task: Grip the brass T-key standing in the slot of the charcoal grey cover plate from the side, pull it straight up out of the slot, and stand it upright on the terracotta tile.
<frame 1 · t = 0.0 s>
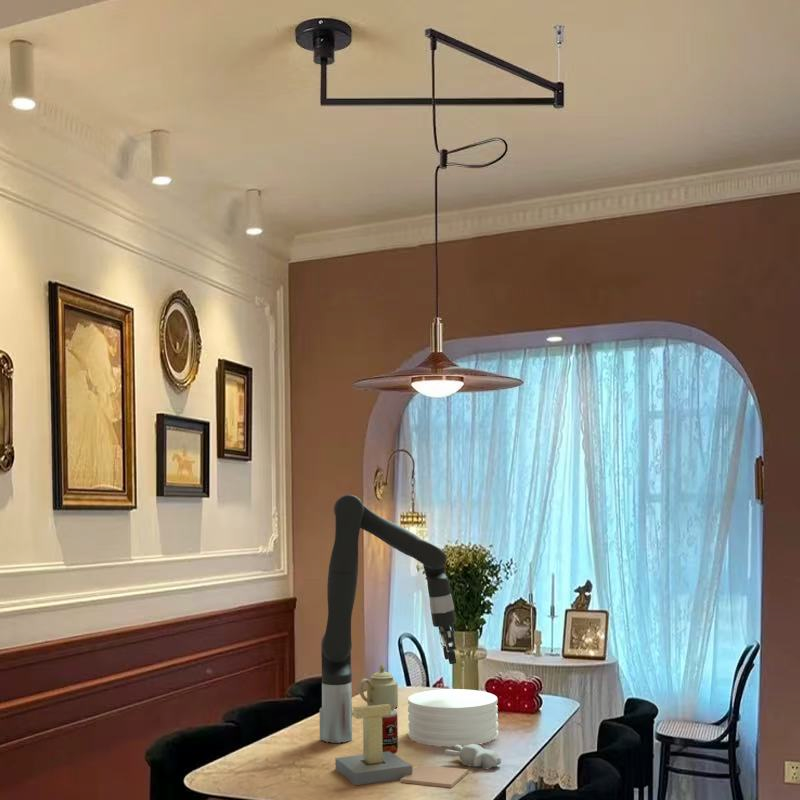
hand: (450, 661, 292), 22 cm above the table, tool pointing down, fingers open, 8 cm apart
tile: (435, 777, 244), on the table
t key: (372, 739, 250), in the cover plate
cover plate: (373, 773, 249), on the table
canned food: (384, 751, 271), on the table
plate stack: (453, 736, 288), on the table
bunny figurine: (473, 765, 256), on the table
sugar bowl: (380, 708, 328), on the table
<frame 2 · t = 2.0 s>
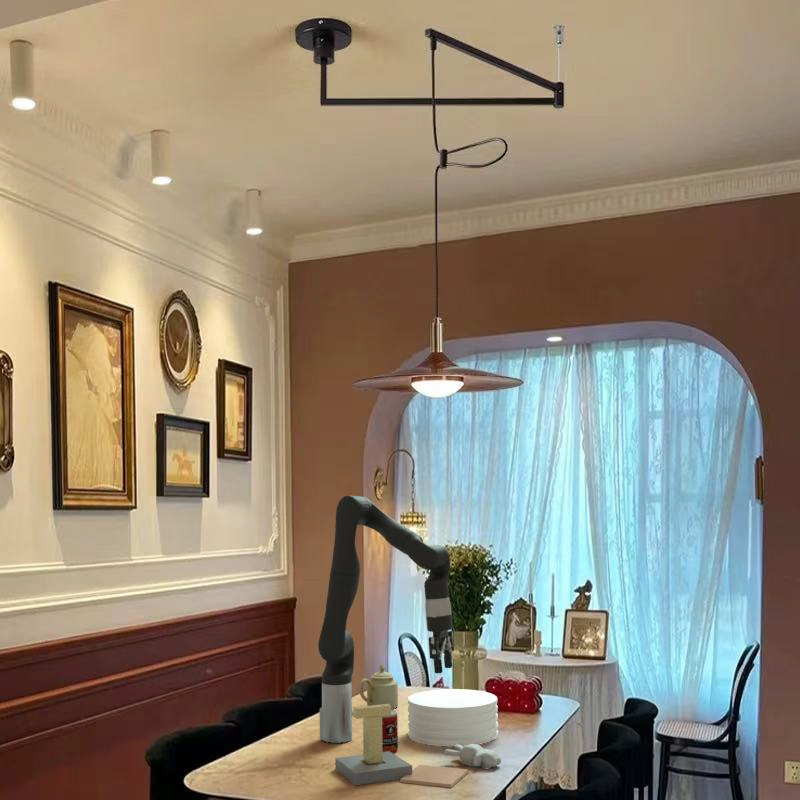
hand: (443, 670, 269), 24 cm above the table, tool pointing down, fingers open, 8 cm apart
nothing on the table moved.
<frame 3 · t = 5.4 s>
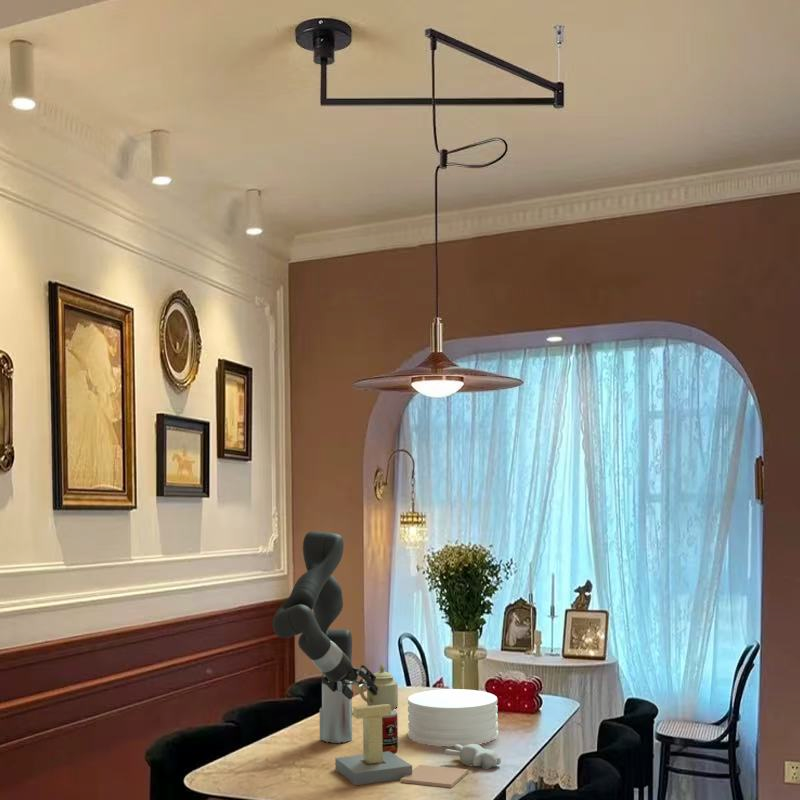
hand: (363, 694, 250), 21 cm above the table, tool tilted 50°, fingers open, 8 cm apart
nothing on the table moved.
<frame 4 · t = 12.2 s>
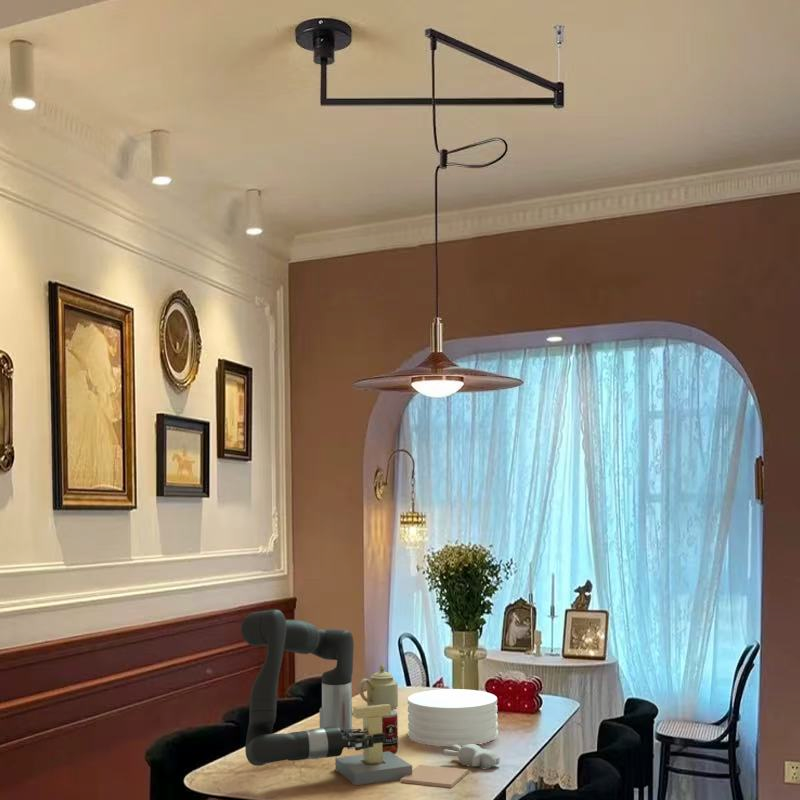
hand: (382, 735, 251), 10 cm above the table, tool horizontal, fingers closed on t key, 4 cm apart
t key: (372, 739, 250), in the cover plate, touching gripper
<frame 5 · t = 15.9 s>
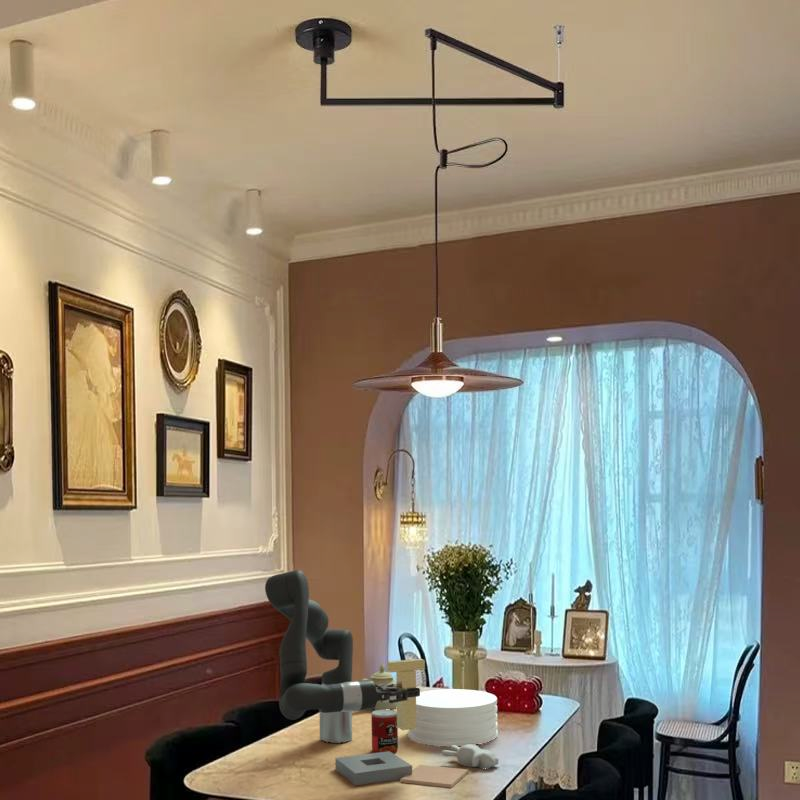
hand: (415, 690, 249), 22 cm above the table, tool horizontal, fingers closed on t key, 4 cm apart
t key: (406, 694, 248), point 21 cm above the table, touching gripper
when the fingers open (11 cm above the table, at t = 19.6 s): t key stays where it is, resting on tile.
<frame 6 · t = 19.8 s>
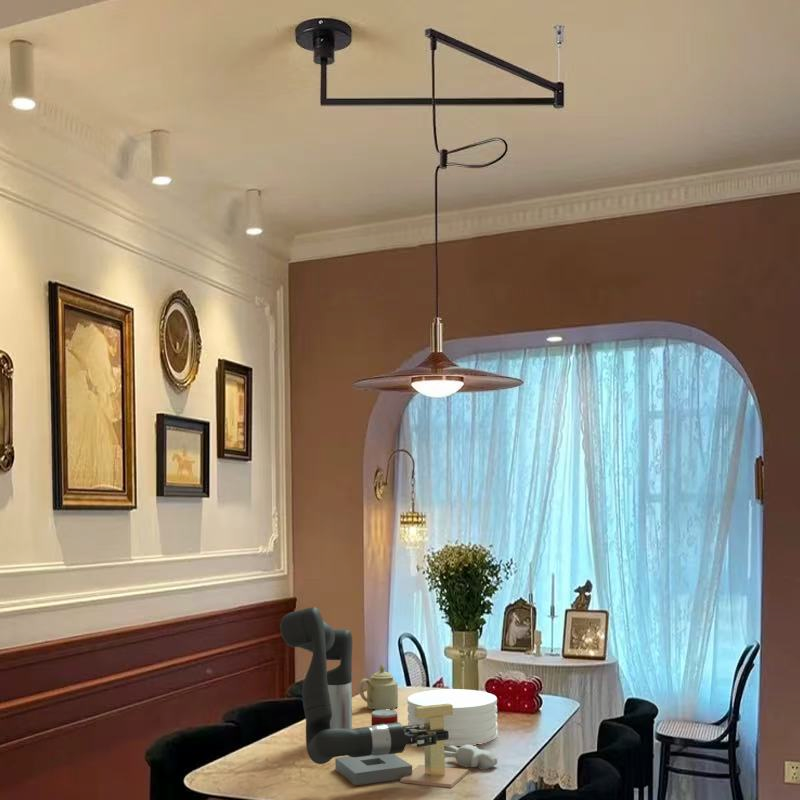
hand: (442, 732, 246), 11 cm above the table, tool horizontal, fingers open, 5 cm apart
t key: (434, 740, 245), on the tile, point 10 cm above the table
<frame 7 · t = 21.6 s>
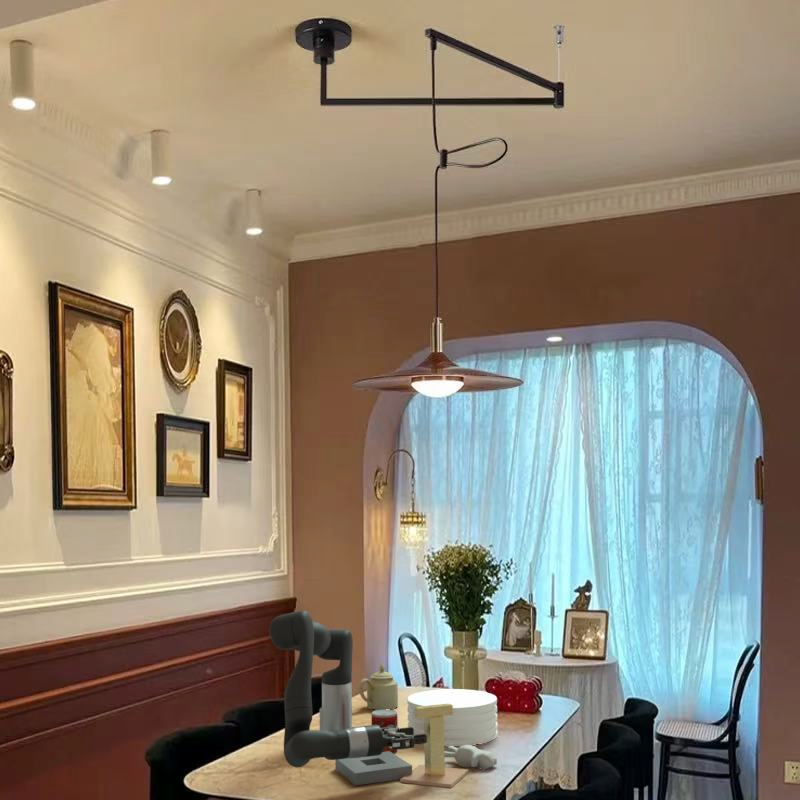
hand: (419, 734, 244), 11 cm above the table, tool horizontal, fingers open, 8 cm apart
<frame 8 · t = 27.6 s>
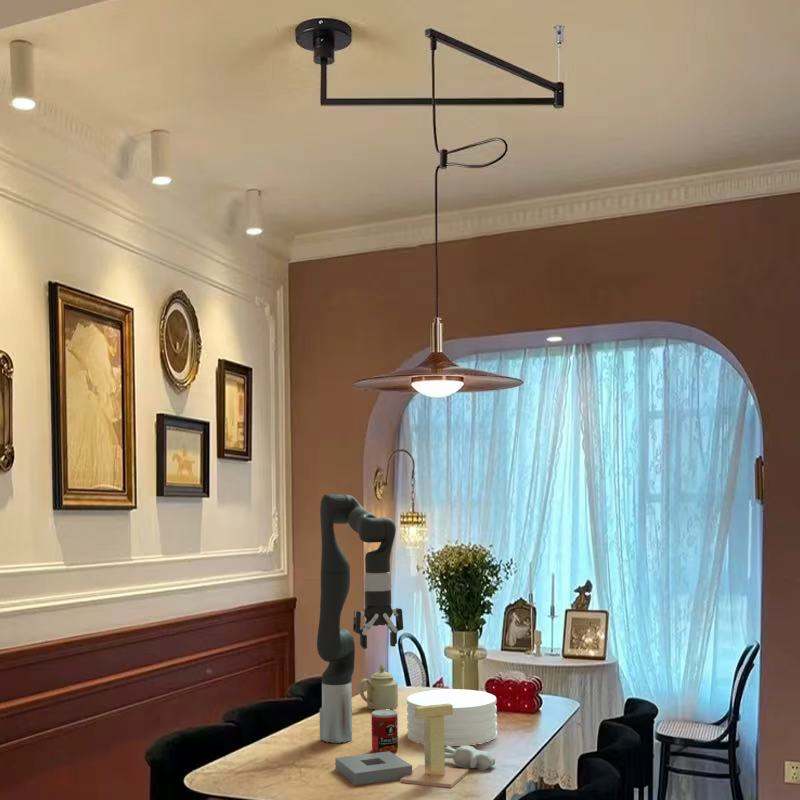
hand: (378, 647, 259), 32 cm above the table, tool pointing down, fingers open, 8 cm apart
at the end: t key inside the target area on the tile (0.0 cm from its centre), point 9.5 cm above the tile's base; t key tilted 0°; the gripper is holding nothing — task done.
